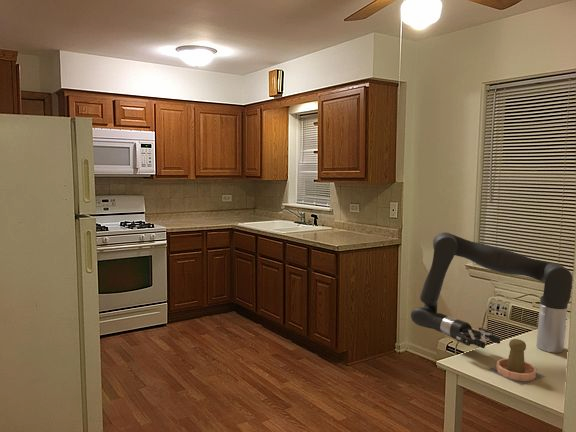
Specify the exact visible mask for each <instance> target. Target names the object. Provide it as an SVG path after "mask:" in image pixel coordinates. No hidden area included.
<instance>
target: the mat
mask: <svg viewBox="0 0 576 432" xmlns="http://www.w3.org/2000/svg"><path fill="white" fill-rule="evenodd" d="M486 370H487V371H489V372H491V373H493V374H495V375H498V376H500V377H503V378H504V379H506V380H509V381H511V382H513V383H515V384H517V385H518V386H519V385H520V386H524V385H527V384H530V383H531V382H532V383H533V382H534V381H537V380H539V379H542V378H544V377H546V376H545V375H544V374H540V373H538V372H536V377H535V379H534V380H532V381H516V380H512V379H508V378H506V377H504V376H502V375H500V374H499V373H498V372H497V370H496V366H493V367H489V368H488V369H486Z"/></svg>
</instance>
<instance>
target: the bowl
mask: <svg viewBox="0 0 576 432" xmlns="http://www.w3.org/2000/svg"><path fill="white" fill-rule="evenodd" d="M507 362H508V358H501V359H498V360H496V364H495V365H496V366H495V367H496V370H497V372H498V373H499V374H500V375H502V376H504V377H506V378H508V379H512V380H516V381H532V380H534V379H535V377H536V373H537V367H535V366H534V365H533V364H531V363H529V362H526V361H525V360H524V362H525V373H516V372H511V371H508V370H506V366H507ZM500 375H499V376H500ZM502 376H501V377H502ZM504 377H503V378H504ZM506 378H505V379H506ZM508 379H507V380H508ZM532 382H533V381H532Z"/></svg>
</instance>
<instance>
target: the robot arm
mask: <svg viewBox="0 0 576 432" xmlns="http://www.w3.org/2000/svg"><path fill="white" fill-rule="evenodd" d="M432 248H433V256H432V262H431V265H430V269H429V271H428V274H427V275H426V278H425V281H424V283H423V285H422V289H421V293H420V297H419V300H420V302H422V303H423V304H424V306H421V307H420V306H419V307H415V308H413V309H412V311H411V312H410V320H411V321H412V323H414V324H416V325H417V326H419V327H422V328H427V329H431V330H432V329H433V330H435V331H437V332H439V333H441V334H444V335H446V336H447V337H450V338H452V339H454V340H456V341H457V342H459V343H461V344H464V345H466V346H476V347H479V348H481V349H485V348H486V342H485V341H490V342H493V343H495V344H501V339H502V338H500V337H499V336H497V335H494V331H491V330H489V329H486V328H483V327H478V329H476V328H473V327H472V325H471V324H470V323H469V322H467V321H464V320H461V319H458V318H455V317H454V316H449V315H446V314H443V313H441V312H440V313H439V312H438V300H439V297H440V294H441V291H442V287H443V284H444V280H445V277H446V274H447V271H448V270H449V267H450V265H451V263H452V261H453V259H454V257H455V256H456V257H460V258H464V259H466V260H469V261H471V262H474V263H475V264H477V265H479V266H481V267H482V268H484V269H487V270H491V271H493V272H498V273H501V274H505V275H514V276H524V277H525V276H526V277H528V278H531V279H534V280H537V281H540V282H542V283H544V284H543V286H544V287H543V294H542V295H541V297H540V301H539V311H538V312H539V314H538V321H537V322H538V324H537V335H536V346H535V347H537V348H538V349H539V350H542V351H544V352H546V353H547V352H548V353H552V354H553V353H554V354H555V353H556V354H557V353H558V354H559V353H562V352H564V349H565V340H566V329H567V315H568V313H567V312H568V304H569V303H570V300H571V295H572V288H573V276H572V273H571V271H570V270H569V269H567V268H566V267H565V266H563V265H561V264H560V263H557V262H554V261H553V262H551V261H545V260H541V259H535V258H531V257H528V256H525V255H522V254H520V253H517V252H514V251H511V250H508V249H506V248H505V249H504V248H501V247H497V246H493V245H488V244H484V243H482V242H481V243H480V242H477V241H472V240H468V239H465V238H462V237H460V236H458V235H455V234H453V233H450V232H440V233H437V234H436V235H435V236H434V238H433V241H432Z"/></svg>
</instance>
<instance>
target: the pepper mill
mask: <svg viewBox="0 0 576 432" xmlns="http://www.w3.org/2000/svg"><path fill="white" fill-rule="evenodd" d="M508 346H509V348H510V350H509V354H508V358H507V359H508V362H507V366H506V370H508V371H511V372H516V373H525V362H526V361H525V351H526V349H527V344H526V342H525V341H524V340H522V339H518V338H513V339H510V341H509V343H508ZM524 361H525V362H524Z"/></svg>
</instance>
